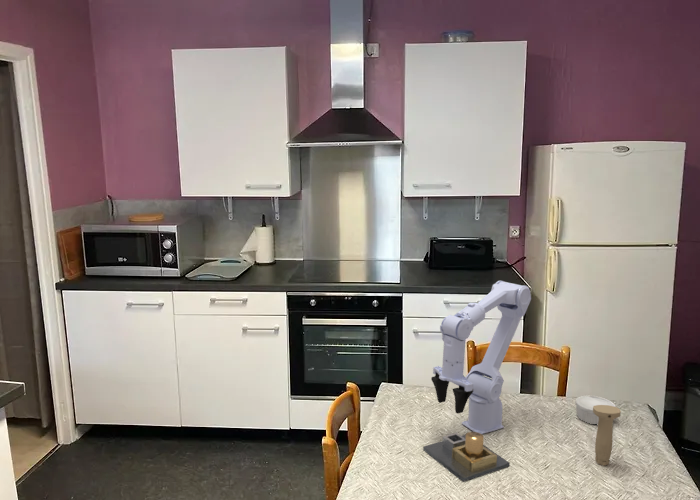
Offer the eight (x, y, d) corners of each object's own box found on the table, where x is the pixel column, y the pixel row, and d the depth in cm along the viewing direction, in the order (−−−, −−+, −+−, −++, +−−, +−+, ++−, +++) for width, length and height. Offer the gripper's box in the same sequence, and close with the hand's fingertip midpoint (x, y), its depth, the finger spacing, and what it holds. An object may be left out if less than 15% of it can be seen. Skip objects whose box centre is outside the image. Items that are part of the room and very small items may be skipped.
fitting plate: (466, 437, 161) (467, 425, 160) (509, 466, 146) (510, 453, 146) (423, 449, 154) (423, 437, 154) (463, 481, 139) (463, 468, 139)
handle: (618, 469, 145) (623, 414, 142) (592, 467, 146) (596, 412, 143) (611, 458, 150) (616, 405, 147) (586, 457, 151) (590, 404, 148)
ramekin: (617, 416, 174) (618, 400, 173) (611, 431, 165) (612, 414, 164) (578, 407, 180) (579, 392, 179) (570, 421, 171) (572, 405, 170)
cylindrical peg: (475, 454, 150) (476, 430, 148) (486, 463, 146) (487, 438, 145) (461, 458, 148) (462, 434, 147) (472, 467, 144) (473, 442, 143)
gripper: (425, 353, 159) (422, 399, 161) (459, 370, 146) (456, 420, 148) (445, 350, 162) (442, 395, 164) (480, 366, 150) (476, 415, 152)
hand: (450, 407), depth 157 cm, fingers open, 7 cm apart
